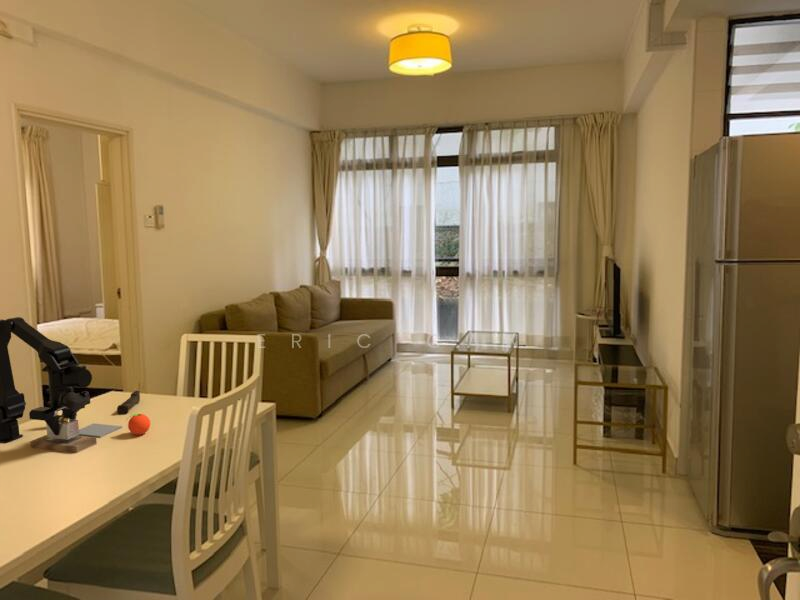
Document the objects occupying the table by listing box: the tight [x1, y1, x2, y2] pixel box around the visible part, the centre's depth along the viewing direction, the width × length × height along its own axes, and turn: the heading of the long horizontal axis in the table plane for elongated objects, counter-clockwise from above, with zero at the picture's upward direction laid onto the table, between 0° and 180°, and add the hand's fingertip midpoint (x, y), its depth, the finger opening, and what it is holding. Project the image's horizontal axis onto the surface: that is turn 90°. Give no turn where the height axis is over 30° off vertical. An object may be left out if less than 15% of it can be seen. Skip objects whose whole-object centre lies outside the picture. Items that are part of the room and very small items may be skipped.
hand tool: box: [116, 390, 141, 415], centre depth 230 cm, size 19×4×5 cm, turn 4°
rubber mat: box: [78, 423, 123, 438], centre depth 203 cm, size 12×10×1 cm
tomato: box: [126, 413, 151, 436], centre depth 200 cm, size 8×7×7 cm
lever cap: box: [45, 417, 80, 440], centre depth 189 cm, size 8×4×6 cm, turn 74°
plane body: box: [30, 434, 97, 454], centre depth 190 cm, size 18×8×2 cm, turn 75°
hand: (63, 432), depth 189 cm, fingers closed on lever cap, 4 cm apart
